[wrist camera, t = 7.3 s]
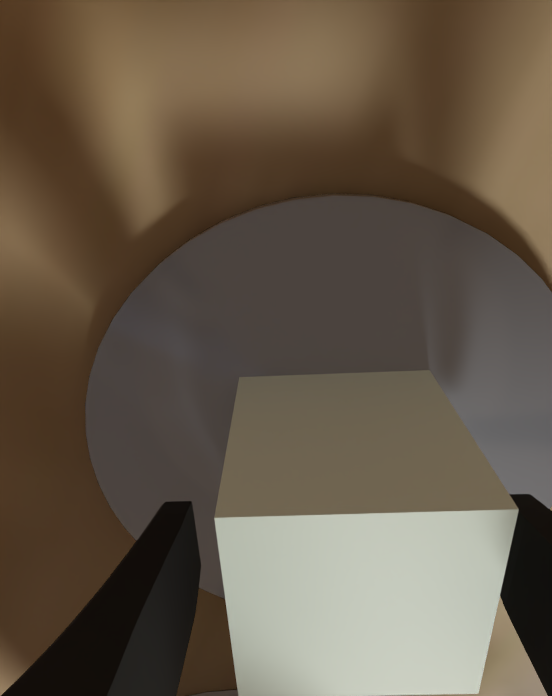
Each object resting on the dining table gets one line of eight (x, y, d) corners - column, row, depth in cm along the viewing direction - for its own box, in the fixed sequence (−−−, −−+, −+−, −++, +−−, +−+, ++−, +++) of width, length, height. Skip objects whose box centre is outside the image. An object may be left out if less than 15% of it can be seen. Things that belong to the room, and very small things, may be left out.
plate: (137, 599, 17) (130, 619, 16) (44, 204, 11) (27, 208, 11) (522, 593, 17) (533, 614, 16) (629, 181, 11) (654, 184, 10)
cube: (252, 519, 14) (238, 697, 10) (239, 377, 12) (214, 518, 8) (414, 515, 14) (478, 693, 10) (429, 369, 12) (519, 509, 8)
